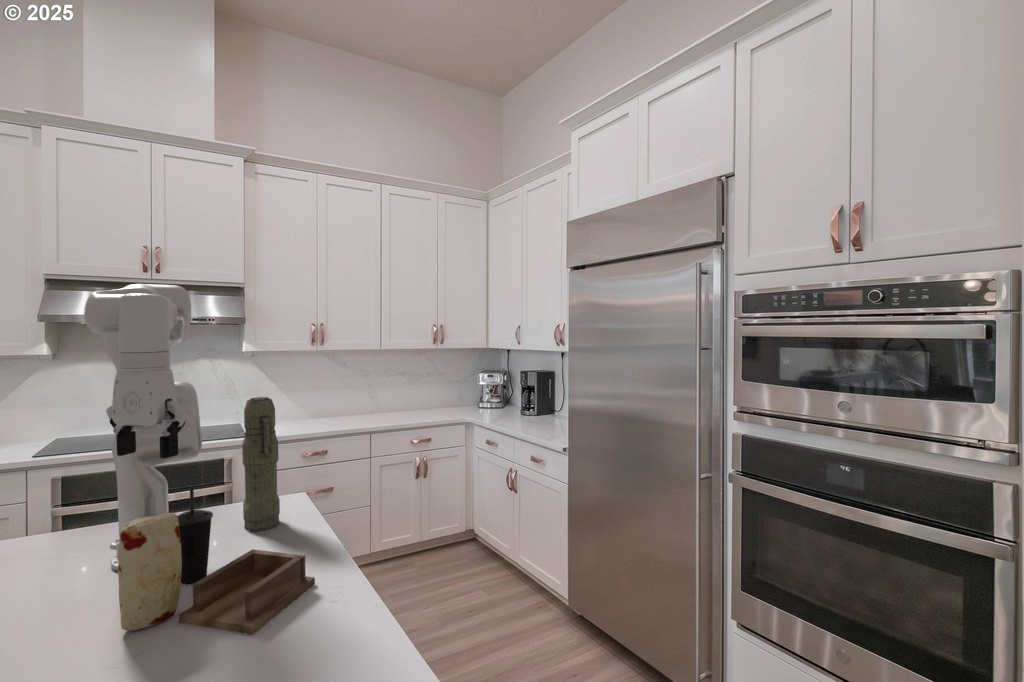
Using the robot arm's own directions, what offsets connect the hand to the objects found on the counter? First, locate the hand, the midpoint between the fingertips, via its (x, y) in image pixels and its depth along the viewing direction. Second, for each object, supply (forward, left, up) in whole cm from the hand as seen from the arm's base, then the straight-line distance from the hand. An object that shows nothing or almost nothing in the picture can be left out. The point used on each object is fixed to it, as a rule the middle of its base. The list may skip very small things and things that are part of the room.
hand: (147, 455), depth 93 cm
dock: (+13, +10, -31) cm, 35 cm away
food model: (0, 0, -31) cm, 31 cm away
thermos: (-13, +44, -31) cm, 56 cm away
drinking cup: (-6, +15, -31) cm, 35 cm away
